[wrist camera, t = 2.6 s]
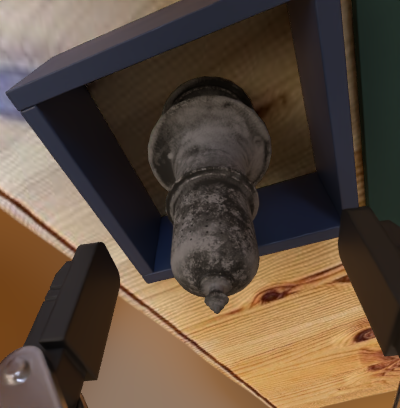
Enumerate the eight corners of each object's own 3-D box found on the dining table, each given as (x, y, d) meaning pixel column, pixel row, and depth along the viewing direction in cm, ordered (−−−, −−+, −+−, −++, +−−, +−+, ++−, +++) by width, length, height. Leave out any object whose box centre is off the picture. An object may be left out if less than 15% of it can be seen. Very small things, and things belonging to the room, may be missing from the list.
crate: (51, 57, 16) (4, 92, 12) (296, -51, 14) (336, -50, 10) (156, 227, 23) (147, 284, 19) (330, 177, 21) (361, 232, 17)
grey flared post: (282, 119, 18) (372, 306, 9) (211, 185, 21) (221, 381, 11) (203, 44, 16) (209, 189, 6) (134, 129, 18) (67, 319, 9)
